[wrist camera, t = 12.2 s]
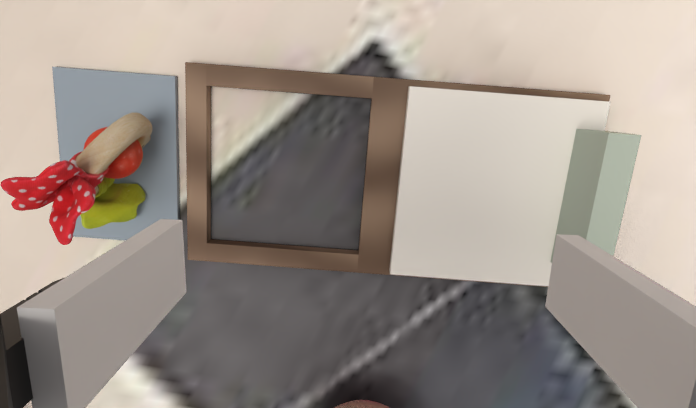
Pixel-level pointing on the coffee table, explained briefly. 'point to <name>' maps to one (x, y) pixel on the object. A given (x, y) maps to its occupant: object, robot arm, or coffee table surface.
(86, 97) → the slate mat
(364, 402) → the decorative fruit
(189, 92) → the puzzle board
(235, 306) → the coffee table surface
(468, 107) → the sliding cover
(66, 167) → the bird rattle
